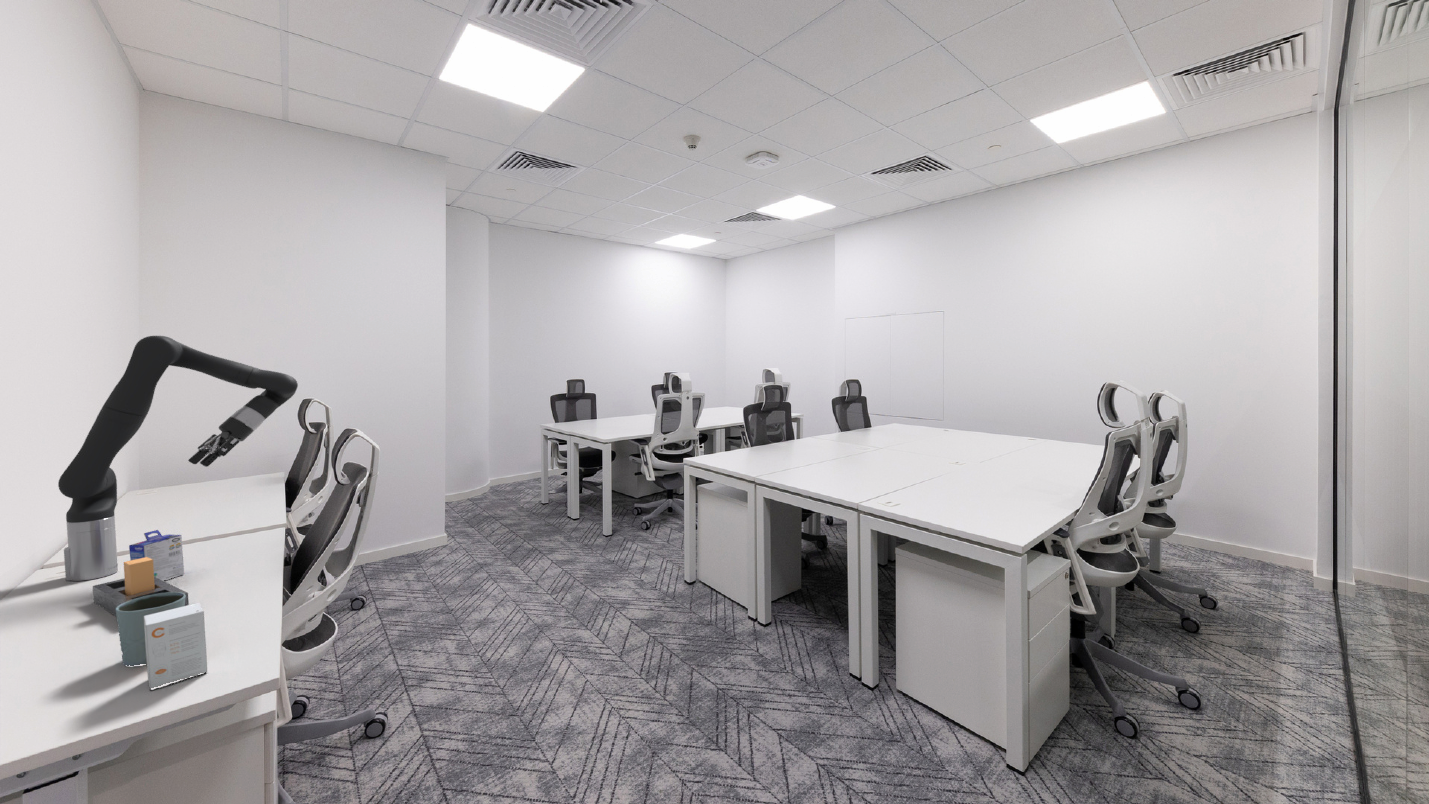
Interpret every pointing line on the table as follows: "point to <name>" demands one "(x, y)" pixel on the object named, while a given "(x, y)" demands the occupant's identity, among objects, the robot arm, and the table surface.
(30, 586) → the table surface
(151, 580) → the square peg
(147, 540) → the ink cartridge box
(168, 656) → the small box
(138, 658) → the grey-green hollow cylinder
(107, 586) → the gray slotted block
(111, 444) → the robot arm
